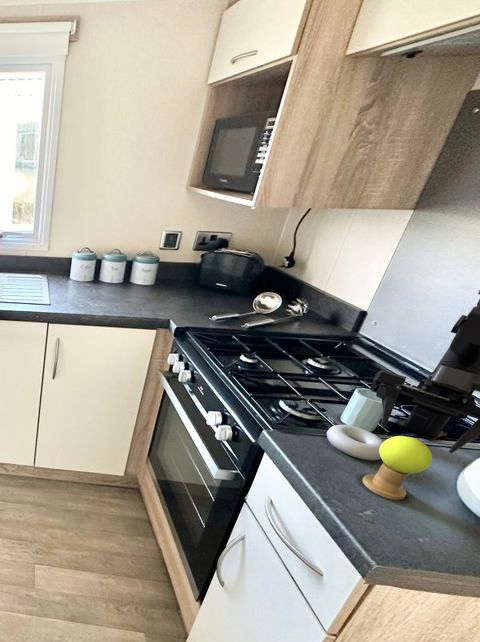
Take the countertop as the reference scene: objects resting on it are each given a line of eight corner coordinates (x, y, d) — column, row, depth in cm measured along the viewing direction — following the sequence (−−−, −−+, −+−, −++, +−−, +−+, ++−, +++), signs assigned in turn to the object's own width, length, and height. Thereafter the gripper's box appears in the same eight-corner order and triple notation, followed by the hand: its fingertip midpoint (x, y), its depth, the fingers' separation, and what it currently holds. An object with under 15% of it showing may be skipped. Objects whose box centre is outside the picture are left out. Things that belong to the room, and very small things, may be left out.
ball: (386, 453, 80) (403, 426, 77) (429, 477, 74) (449, 448, 71) (363, 459, 78) (380, 432, 75) (406, 484, 72) (425, 455, 69)
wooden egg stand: (375, 474, 82) (387, 454, 80) (412, 496, 77) (426, 476, 74) (354, 480, 80) (366, 460, 78) (391, 503, 75) (405, 482, 73)
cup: (351, 414, 101) (366, 386, 97) (380, 429, 96) (397, 400, 92) (334, 418, 99) (349, 390, 96) (362, 433, 94) (379, 404, 90)
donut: (395, 466, 84) (359, 435, 93) (404, 453, 83) (367, 423, 92) (344, 461, 85) (313, 431, 94) (352, 449, 84) (319, 419, 92)
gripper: (400, 332, 78) (356, 398, 77) (559, 373, 64) (508, 453, 63) (390, 358, 86) (350, 419, 85) (530, 400, 72) (484, 472, 71)
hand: (415, 438), depth 76 cm, fingers open, 9 cm apart
